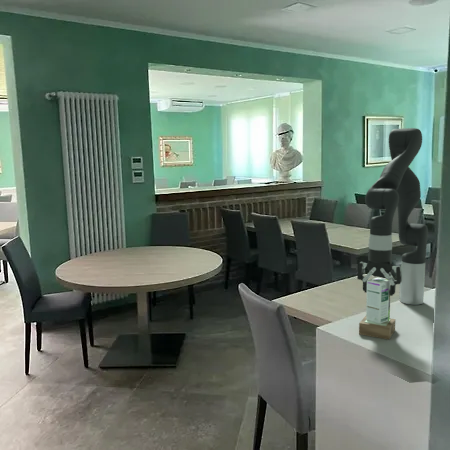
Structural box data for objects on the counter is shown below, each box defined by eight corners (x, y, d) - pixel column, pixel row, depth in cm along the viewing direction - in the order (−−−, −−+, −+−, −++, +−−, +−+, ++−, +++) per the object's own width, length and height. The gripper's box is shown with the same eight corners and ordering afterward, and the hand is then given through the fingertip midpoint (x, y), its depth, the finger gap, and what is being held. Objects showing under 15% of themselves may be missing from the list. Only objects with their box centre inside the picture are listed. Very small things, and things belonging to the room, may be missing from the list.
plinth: (366, 325, 168) (366, 314, 168) (395, 330, 163) (395, 318, 163) (358, 334, 160) (359, 322, 159) (389, 339, 155) (389, 327, 154)
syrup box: (380, 324, 157) (381, 282, 155) (365, 319, 162) (366, 279, 160) (389, 320, 161) (391, 280, 159) (375, 316, 165) (376, 276, 163)
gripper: (404, 247, 157) (402, 293, 159) (361, 243, 164) (360, 288, 167) (400, 251, 151) (398, 299, 153) (356, 247, 158) (354, 293, 160)
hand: (378, 293), depth 160 cm, fingers open, 8 cm apart
